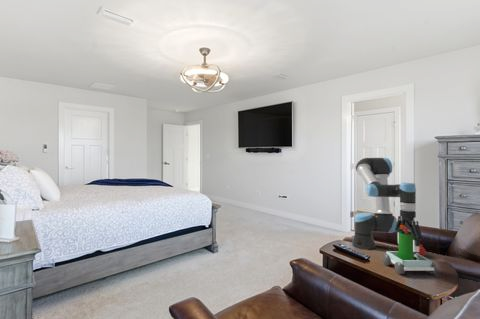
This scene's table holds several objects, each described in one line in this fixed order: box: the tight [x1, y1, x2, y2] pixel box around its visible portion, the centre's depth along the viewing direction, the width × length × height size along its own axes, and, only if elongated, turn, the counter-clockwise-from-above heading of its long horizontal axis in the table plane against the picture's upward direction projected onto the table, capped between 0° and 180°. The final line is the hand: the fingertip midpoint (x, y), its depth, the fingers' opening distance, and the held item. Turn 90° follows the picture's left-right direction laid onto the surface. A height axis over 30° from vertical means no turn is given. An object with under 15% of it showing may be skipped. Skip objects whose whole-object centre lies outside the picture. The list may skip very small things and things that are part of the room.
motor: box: [397, 225, 417, 260], centre depth 145 cm, size 10×9×20 cm
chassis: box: [382, 250, 438, 275], centre depth 145 cm, size 18×19×8 cm
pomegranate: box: [416, 242, 427, 257], centre depth 167 cm, size 10×10×9 cm
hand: (407, 247), depth 145 cm, fingers open, 13 cm apart
